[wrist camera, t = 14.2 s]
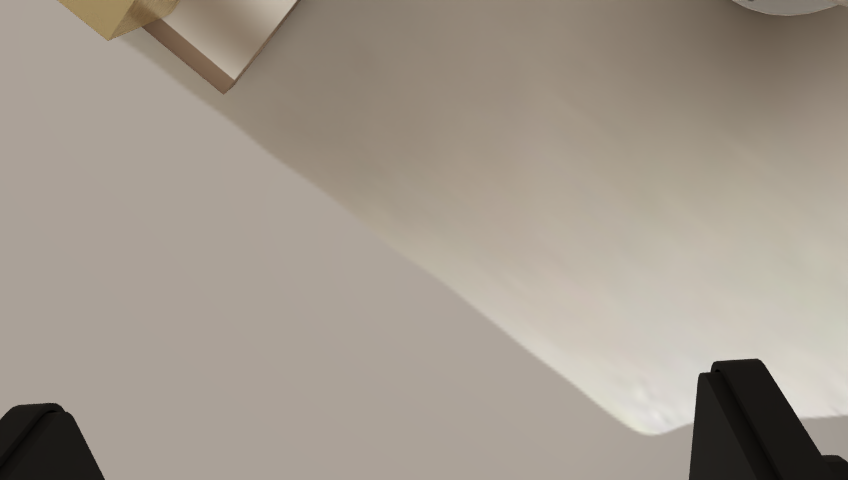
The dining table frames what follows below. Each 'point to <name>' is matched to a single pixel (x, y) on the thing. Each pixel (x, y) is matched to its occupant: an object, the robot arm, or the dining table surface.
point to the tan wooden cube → (119, 14)
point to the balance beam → (220, 34)
